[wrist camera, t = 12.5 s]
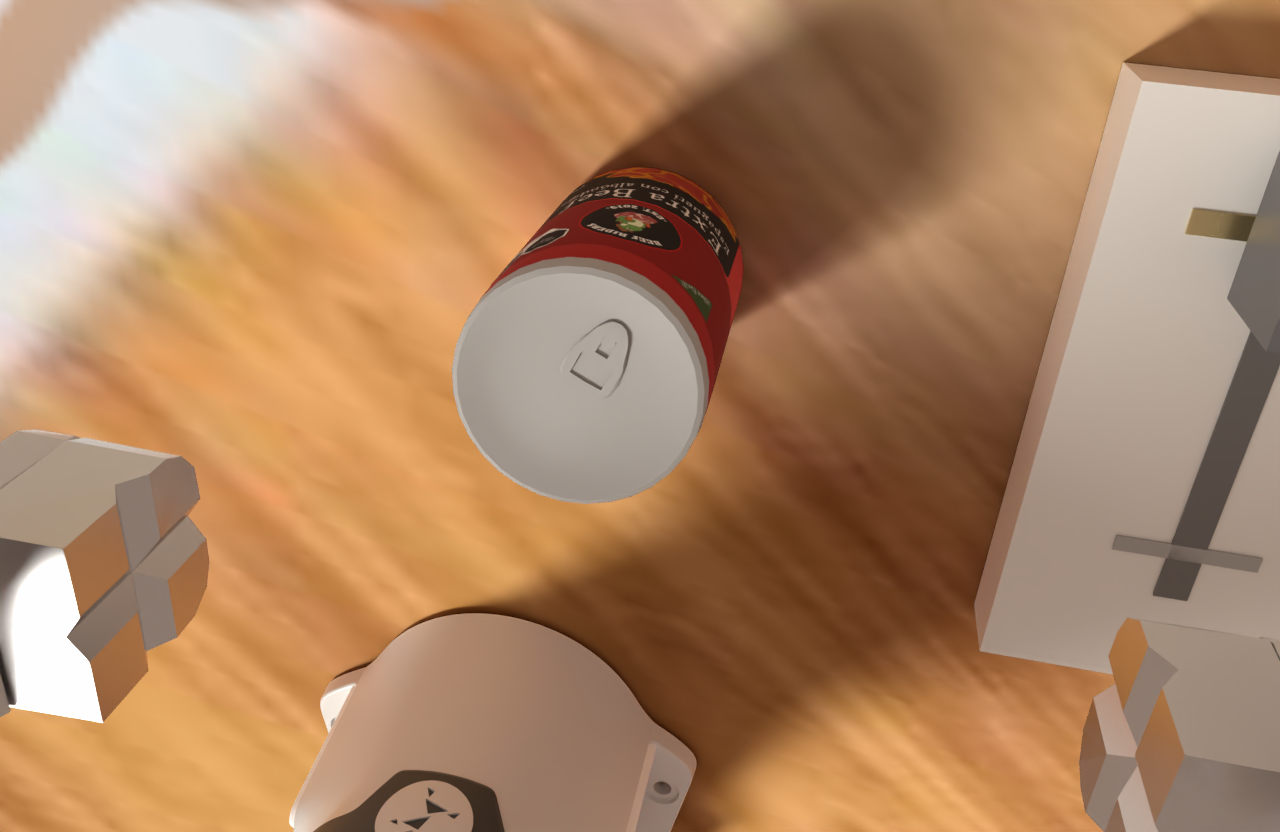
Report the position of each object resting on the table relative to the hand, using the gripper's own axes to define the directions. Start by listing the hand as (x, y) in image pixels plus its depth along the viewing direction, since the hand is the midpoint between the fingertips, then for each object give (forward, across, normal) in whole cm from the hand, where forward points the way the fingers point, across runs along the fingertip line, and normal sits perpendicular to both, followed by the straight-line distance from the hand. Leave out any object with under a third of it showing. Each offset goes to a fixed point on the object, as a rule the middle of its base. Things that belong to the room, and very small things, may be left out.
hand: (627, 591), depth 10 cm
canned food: (+31, -5, -9) cm, 33 cm away
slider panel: (+31, +16, -11) cm, 37 cm away
